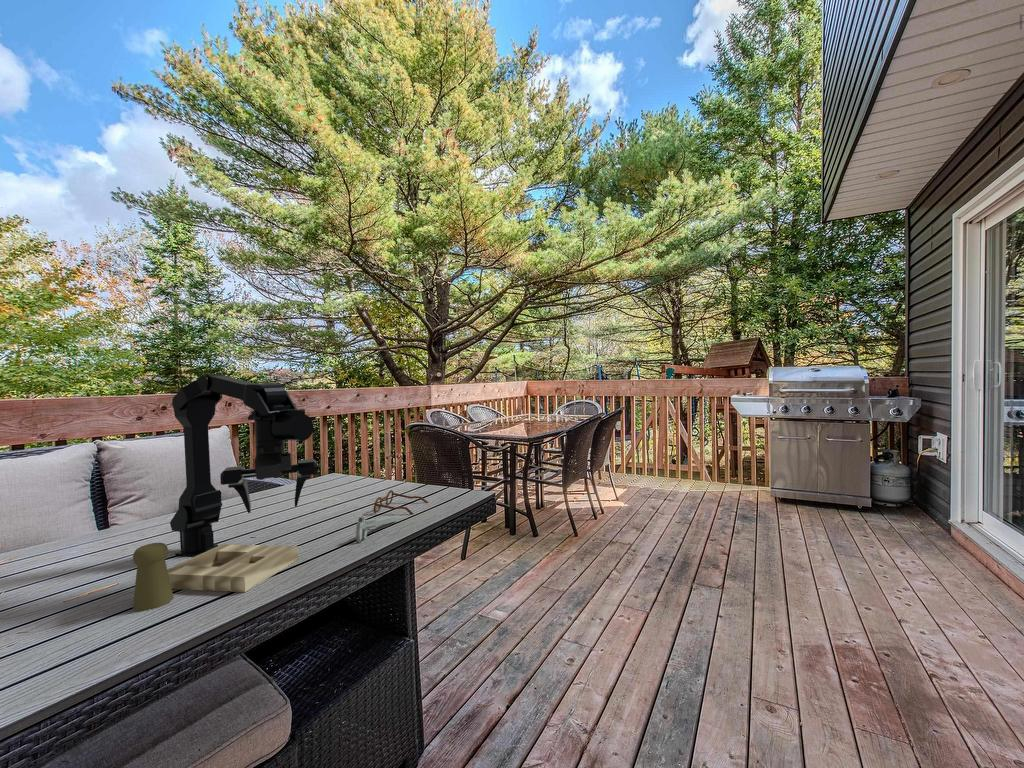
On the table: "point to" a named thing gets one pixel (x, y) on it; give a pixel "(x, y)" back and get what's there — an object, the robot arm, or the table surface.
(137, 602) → the olive knobbed peg
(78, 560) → the table surface
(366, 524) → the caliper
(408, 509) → the glasses
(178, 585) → the block
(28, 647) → the table surface
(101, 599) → the table surface
